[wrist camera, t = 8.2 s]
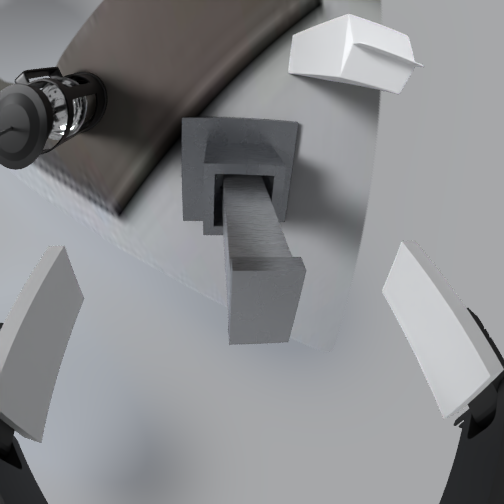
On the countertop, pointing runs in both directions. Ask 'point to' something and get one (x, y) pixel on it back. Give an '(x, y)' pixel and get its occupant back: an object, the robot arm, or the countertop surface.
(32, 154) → the french press
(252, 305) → the column
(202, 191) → the base
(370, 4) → the countertop surface
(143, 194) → the countertop surface
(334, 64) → the milk
